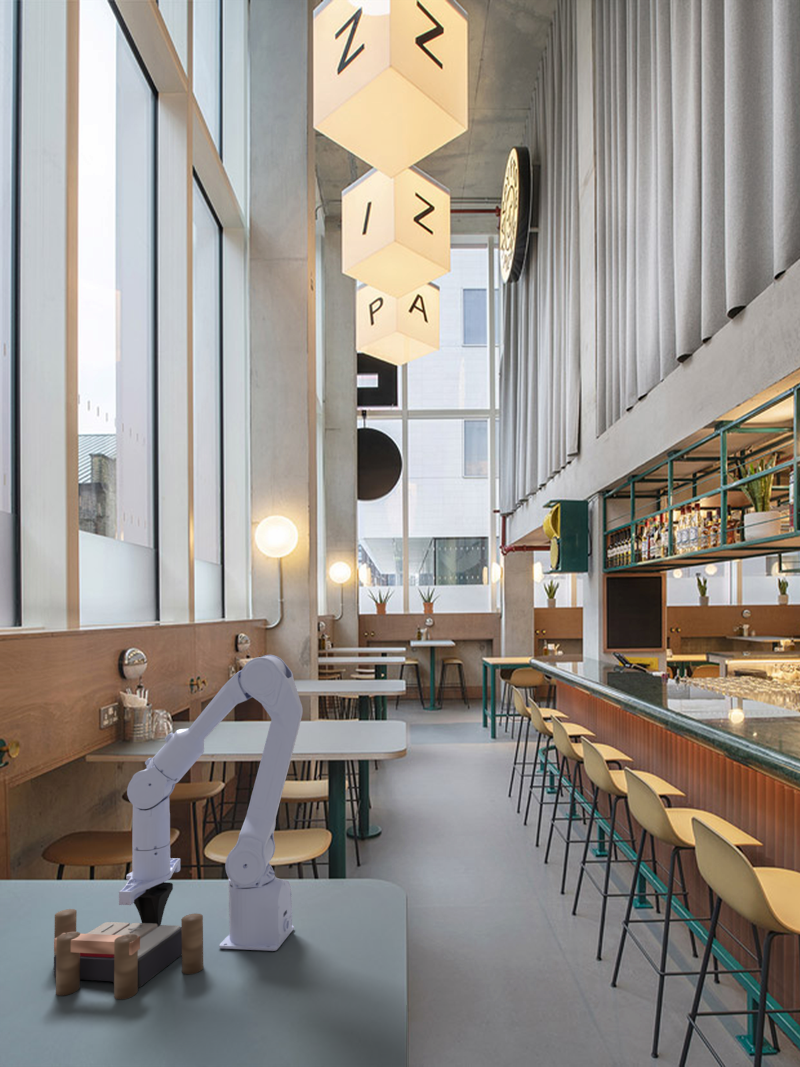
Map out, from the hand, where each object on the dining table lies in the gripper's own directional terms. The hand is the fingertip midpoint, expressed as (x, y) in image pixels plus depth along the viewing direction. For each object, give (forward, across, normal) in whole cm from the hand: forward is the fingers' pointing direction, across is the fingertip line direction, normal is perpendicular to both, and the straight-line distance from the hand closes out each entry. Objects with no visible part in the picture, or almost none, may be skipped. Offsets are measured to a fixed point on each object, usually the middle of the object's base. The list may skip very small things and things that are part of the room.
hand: (151, 935), depth 109 cm
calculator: (+2, +6, -1) cm, 7 cm away
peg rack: (+1, +10, 0) cm, 10 cm away
